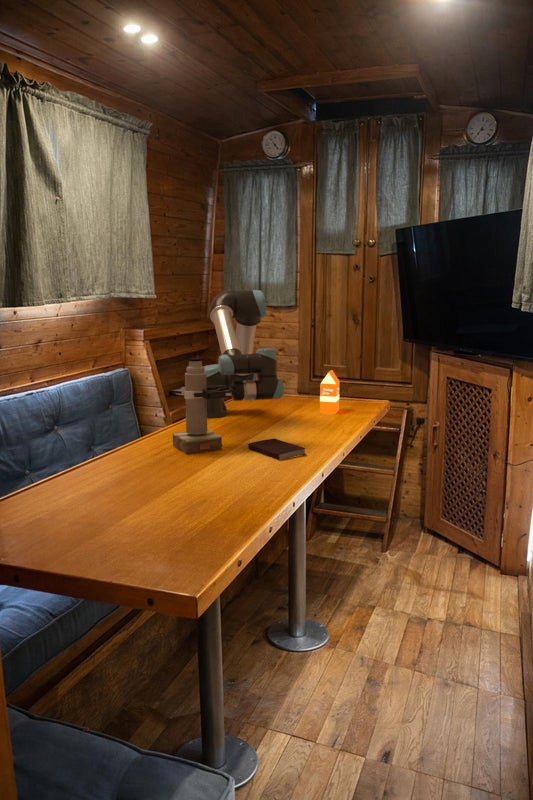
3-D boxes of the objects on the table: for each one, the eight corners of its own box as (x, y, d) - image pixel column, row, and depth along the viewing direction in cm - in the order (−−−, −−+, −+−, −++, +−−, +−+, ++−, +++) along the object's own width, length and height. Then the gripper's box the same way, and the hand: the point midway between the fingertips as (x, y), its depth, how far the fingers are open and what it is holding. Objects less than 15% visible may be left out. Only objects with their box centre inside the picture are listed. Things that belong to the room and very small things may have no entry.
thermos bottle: (208, 429, 249) (207, 356, 244) (206, 434, 241) (204, 359, 236) (187, 429, 249) (186, 356, 244) (184, 434, 242) (182, 359, 236)
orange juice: (319, 413, 308) (320, 371, 304) (323, 410, 316) (324, 369, 312) (335, 414, 305) (336, 372, 302) (339, 411, 314) (340, 370, 310)
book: (278, 462, 229) (278, 453, 228) (247, 450, 244) (247, 441, 244) (306, 456, 236) (306, 447, 236) (274, 445, 252) (274, 437, 251)
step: (173, 445, 249) (172, 433, 248) (206, 441, 256) (206, 428, 255) (187, 454, 236) (187, 441, 236) (222, 449, 243) (222, 436, 242)
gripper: (249, 405, 238) (186, 408, 232) (237, 395, 257) (180, 398, 252) (248, 385, 236) (186, 387, 231) (237, 376, 256) (179, 379, 251)
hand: (183, 393), depth 241 cm, fingers closed on thermos bottle, 8 cm apart
